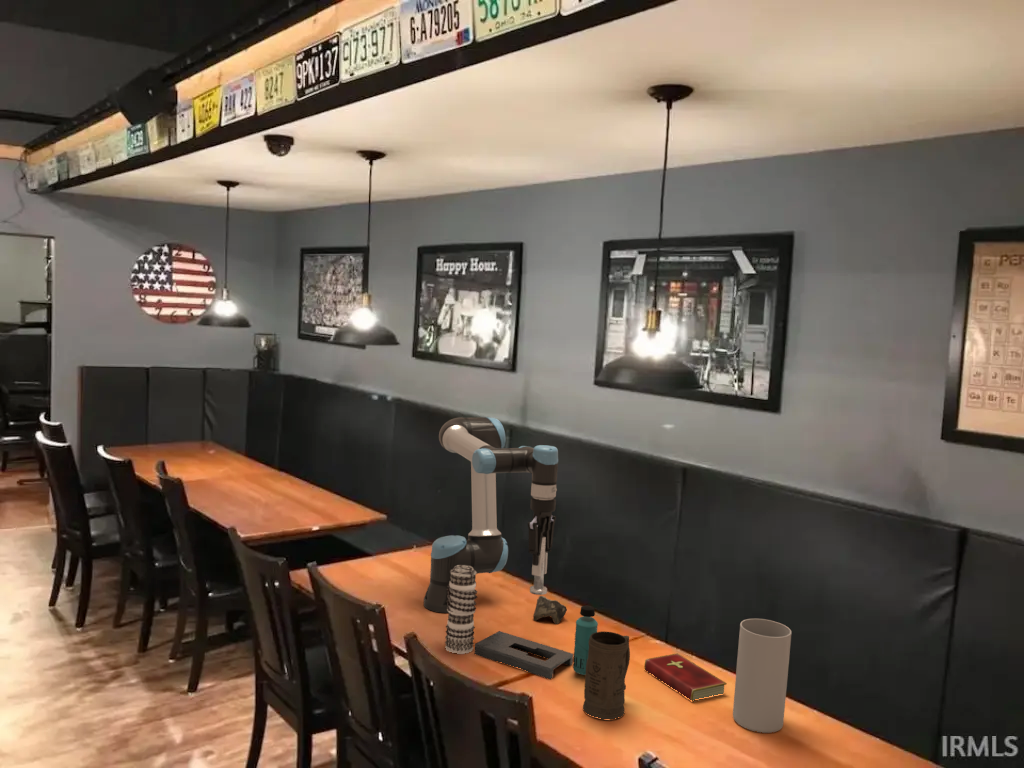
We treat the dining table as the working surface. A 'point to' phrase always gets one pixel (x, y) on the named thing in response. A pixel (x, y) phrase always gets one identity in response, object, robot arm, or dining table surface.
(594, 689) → the beer stein
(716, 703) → the dining table surface
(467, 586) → the decorative candle
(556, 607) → the fossil
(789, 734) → the dining table surface
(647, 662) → the hardcover book
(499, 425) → the robot arm
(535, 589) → the steel peg
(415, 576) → the dining table surface
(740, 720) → the cylinder vase
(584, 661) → the beverage bottle
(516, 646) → the keyhole plate
